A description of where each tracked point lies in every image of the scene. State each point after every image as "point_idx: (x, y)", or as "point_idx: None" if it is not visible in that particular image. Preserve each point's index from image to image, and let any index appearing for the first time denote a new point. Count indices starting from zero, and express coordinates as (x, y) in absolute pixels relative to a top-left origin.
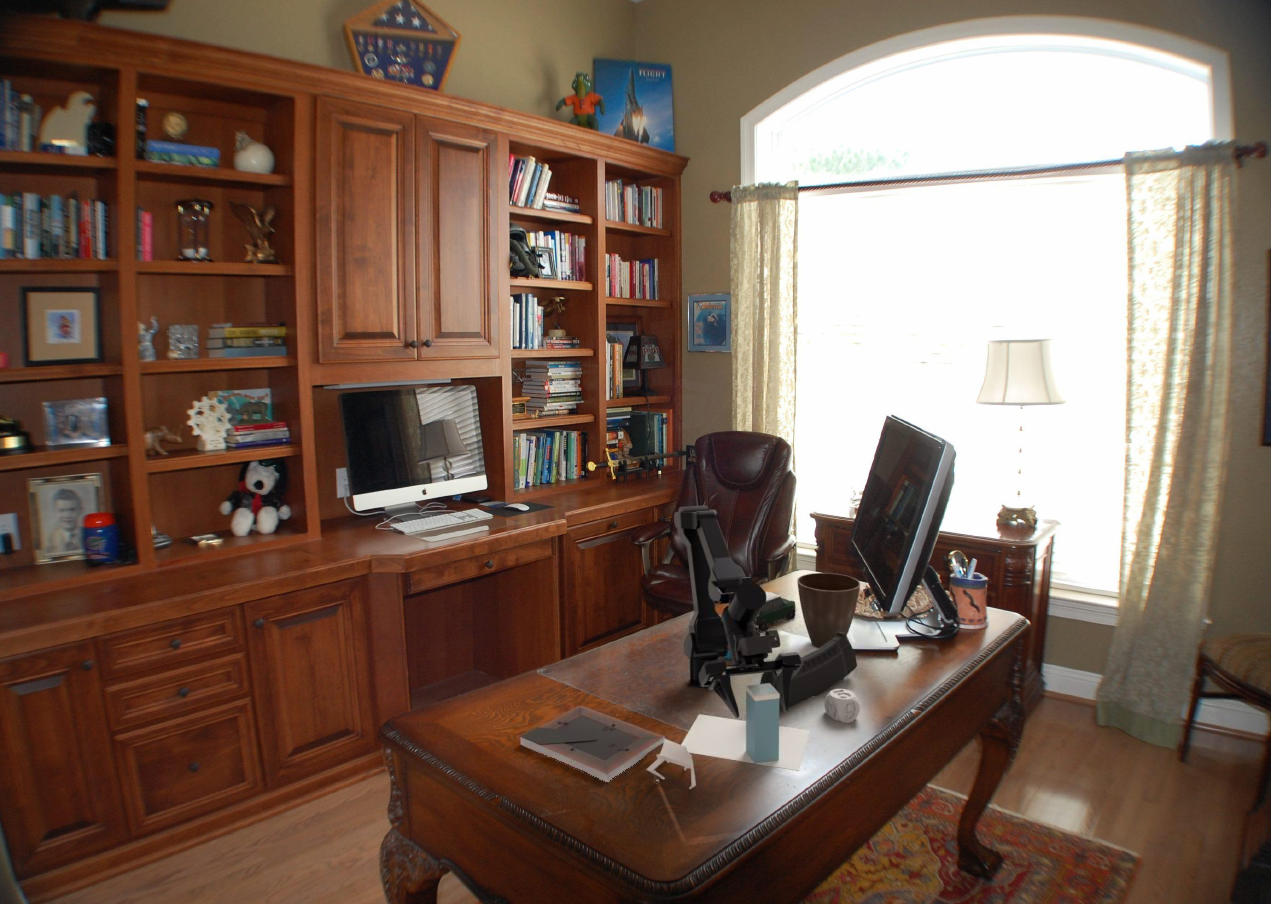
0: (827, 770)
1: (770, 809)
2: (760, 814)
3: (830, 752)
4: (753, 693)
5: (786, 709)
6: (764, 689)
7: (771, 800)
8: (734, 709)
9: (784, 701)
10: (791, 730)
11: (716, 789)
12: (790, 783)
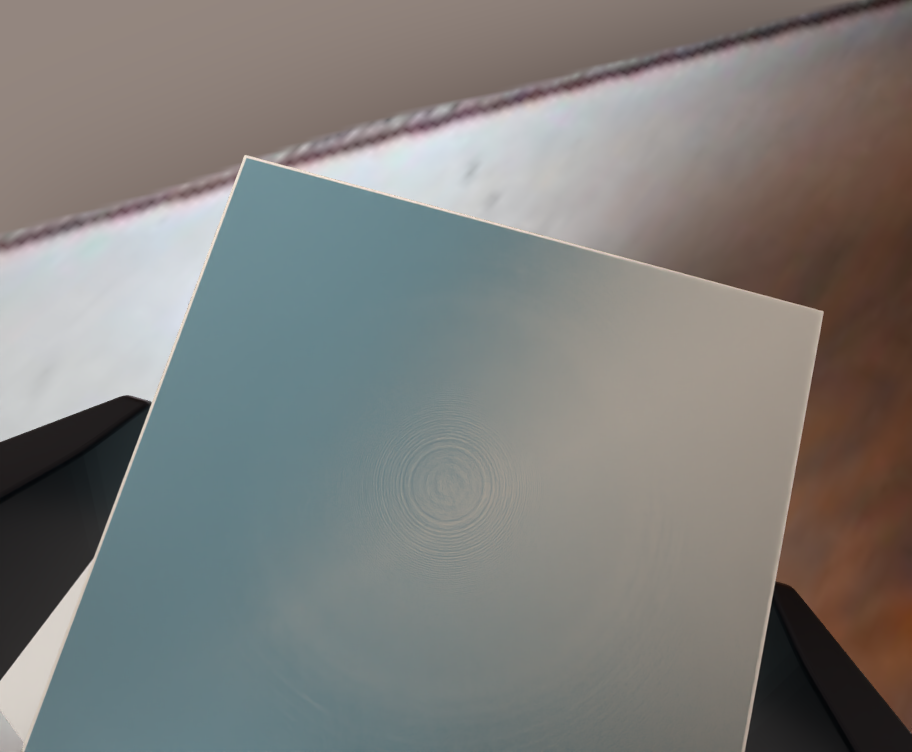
0: (202, 202)
1: (706, 76)
2: (774, 68)
3: (32, 343)
4: (769, 470)
5: (144, 400)
6: (396, 516)
7: (657, 131)
8: (852, 662)
9: (72, 459)
10: (37, 683)
11: (873, 352)
12: (471, 202)
